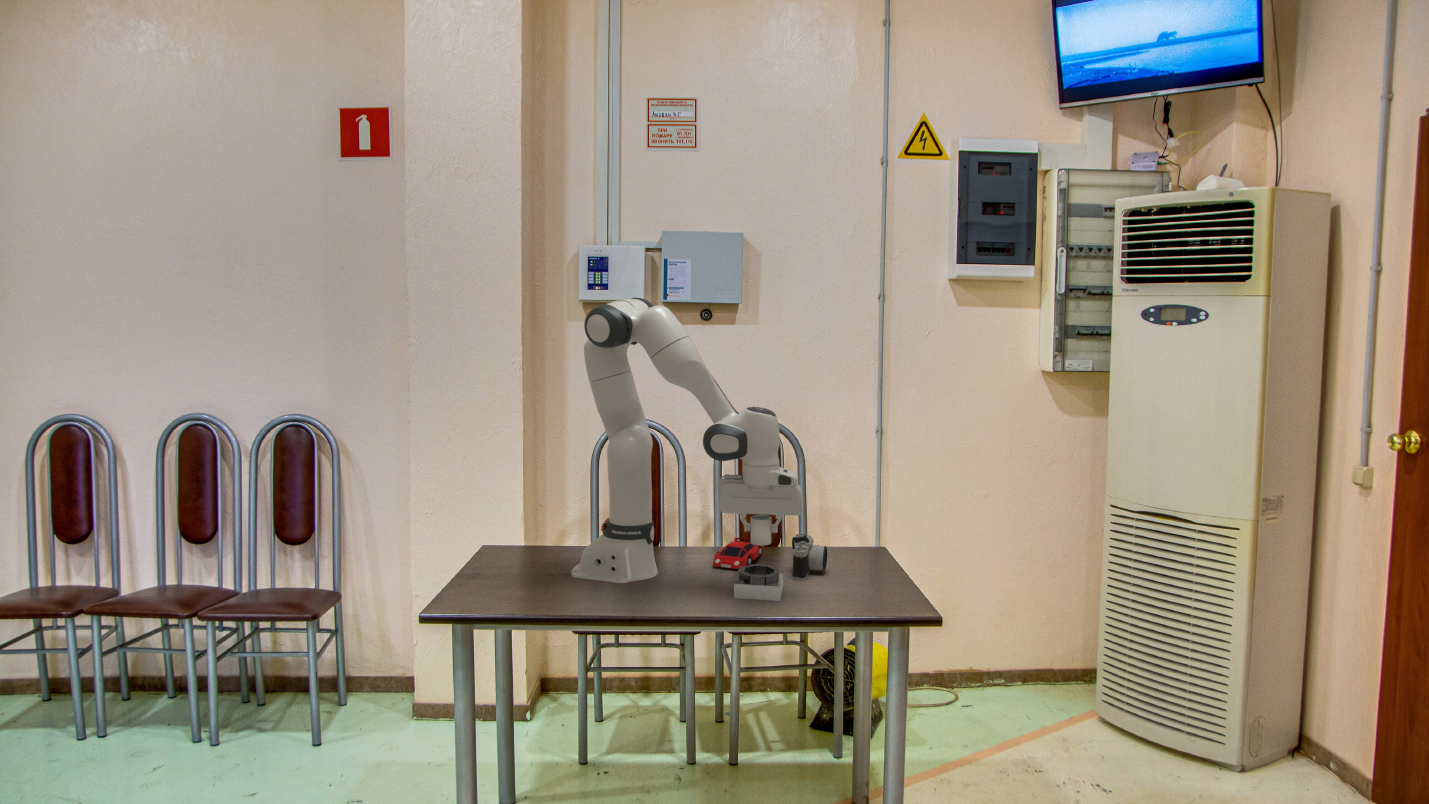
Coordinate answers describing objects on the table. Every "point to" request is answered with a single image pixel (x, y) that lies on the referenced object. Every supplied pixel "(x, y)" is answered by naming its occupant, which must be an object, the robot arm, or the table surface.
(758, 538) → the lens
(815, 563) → the camera
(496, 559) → the table surface
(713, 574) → the table surface
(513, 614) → the table surface
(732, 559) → the toy car
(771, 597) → the grey ring holder
